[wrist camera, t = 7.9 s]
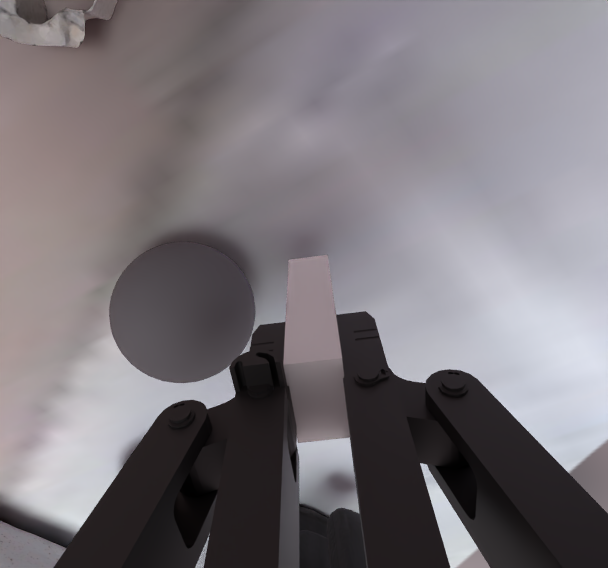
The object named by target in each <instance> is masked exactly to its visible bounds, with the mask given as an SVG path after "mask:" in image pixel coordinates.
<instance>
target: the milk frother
mask: <svg viewBox="0 0 608 568" xmlns="http://www.w3.org/2000/svg"><path fill="white" fill-rule="evenodd" d="M299 568H367V565H366V558H365V550H364V542H363V534H362V527H361V519H360V514H359V513H356V512H354V511H352V510H349V509H345V508H338V509H336V510H335V511H334V512H332V513H331V515H330V517H329V518H327V517H325V516H323V515H321V514H319V513H318V512H316V511H313V510H310V509H307V508H304V507H300V506H299Z"/></svg>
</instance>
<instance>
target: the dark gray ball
mask: <svg viewBox="0 0 608 568" xmlns="http://www.w3.org/2000/svg"><path fill="white" fill-rule="evenodd" d="M109 317H110V326H111V330H112V334H113V337H114V339H115V341H116V344H117V346H118V348H119V349H120V351H121V352H122V354H123V355H124V356H125V357H126V359H127V360H128V361H129V362H130V363H131V364H132V365H133V366H135V367H136V368H137V369H139V370H140V371H142V372H143V373H145V374H147V375H149V376H151V377H153V378H156V379H159V380H162V381H167V382H173V383H188V382H196V381H200V380H204V379H206V378H209V377H211V376H214V375H216V374H218V373H220V372H221V371H223V370H224V369H226V368H227V367H228V366H229V365H230V364H232V362H233V361H234V360H235V359H236V358H237V357H238V356H239V355H240V354H241V353H242V351H243V350H244V348H245V347H246V345H247V343H248V341H249V338H250V336H251V333H252V330H253V326H254V321H255V303H254V296H253V292H252V289H251V287H250V284H249V282H248V280H247V278H246V276H245V275H244V273H243V272H242V271H241V269H240V268H239V267H238V266H237V264H236V263H235V262H234V261H232V260H231V259H230V258H229V257H228V256H226V255H225V254H223V253H222V252H220V251H218V250H216V249H214V248H212V247H210V246H206V245H203V244H199V243H193V242H173V243H167V244H164V245H160V246H157V247H155V248H152V249H150V250H148V251H146V252H145V253H143V254H141V255H140V256H139V257H137V258H136V259H135V260H134V261H133V262H132V263H131V264H130V265H129V266H128V267H127V268H126V269H125V270H124V272H123V273H122V274H121V276H120V278H119V279H118V281H117V283H116V285H115V288H114V290H113V293H112V296H111V301H110V308H109Z"/></svg>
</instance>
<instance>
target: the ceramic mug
mask: <svg viewBox="0 0 608 568" xmlns="http://www.w3.org/2000/svg"><path fill="white" fill-rule="evenodd" d="M66 549H67V548H65V547H63V546H60V545H58V544H55V543H53V542H51V541H48V540H46V539H44V538H41V537H39V536H37V535H34V534H32V533H29V532H26V531H23V530H21V529H18V528H15V527H13V526H11V525H9V524H7V523H4V522H2V521H0V568H53V567H54V566H55V564H56V563H57V562H58V560H59V559H60V557H61V556H62V554H63V553H64V551H65V550H66Z"/></svg>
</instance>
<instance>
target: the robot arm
mask: <svg viewBox="0 0 608 568" xmlns="http://www.w3.org/2000/svg"><path fill="white" fill-rule="evenodd" d="M229 369H230V372H231V376H232V380H233V384H234V388H235V392H236V394H235V397H234V398H233V399H231V400H230V401H228V402H226V403H223V404H221V405H219V406H216V407H213V408H210V409H206V406H205V405H204V404H203V403H201V402H199V401H195V400H186V401H181V402H178V403H175V404H173V405H171V406H169V407H168V408H166V409H165V410H164V411H163V412H162V413H161V414H160V415H159V416H158V417H157V419H156V420H155V422H154V423H153V424H152V426H151V427H150V429H149V430H148V432H147V433H146V435H145V436H144V437H143V439H142V440H141V442H140V443H139V445H138V446H137V448H136V449H135V450H134V452H133V453H132V455H131V456H130V458H129V459H128V461H127V462H126V463H125V465H124V466H123V468H122V469H121V471H120V472H119V474H118V475H117V476H116V478H115V479H114V481H113V482H112V484H111V485H110V487H109V488H108V489H107V491H106V492H105V494H104V495H103V497H102V498H101V499H100V501H99V502H98V504H97V505H96V507H95V508H94V510H93V511H92V512H91V514H90V515H89V517H88V518H87V520H86V521H85V523H84V524H83V525H82V527H81V528H80V530H79V531H78V533H77V534H76V536H75V537H74V538H73V540H72V541H71V543H70V544H69V546H68V547H67V549H66V550H65V551H64V553H63V554H62V556H61V557H60V559H59V560H58V562H57V563H56V564H55V566H54V567H53V568H195V566H196V564H197V562H198V559H199V557H200V555H201V552H202V550H203V548H204V545H205V543H206V540H207V538H208V536H209V533H210V536H209V542H208V547H207V553H206V558H205V564H204V568H299V455H298V450H297V445H296V438H297V439H298V443H301V442H311V441H320V440H329V439H339V438H348V437H350V441H351V449H352V457H353V466H354V472H355V480H356V488H357V496H358V503H359V511H360V519H361V527H362V534H363V542H364V550H365V558H366V565H367V568H450V565H449V562H448V558H447V555H446V551H445V548H444V544H443V541H442V538H441V534H440V531H439V527H438V524H437V520H436V517H435V514H434V510H433V507H432V503H431V500H430V496H429V493H428V490H427V486H426V483H425V479H424V476H423V472H422V469H421V466H420V463H423V464H427V465H428V468H429V470H430V472H431V474H432V475H433V477H434V478H435V480H436V482H437V483H438V485H439V486H440V488H441V489H442V491H443V493H444V494H445V496H446V497H447V499H448V501H449V502H450V504H451V505H452V507H453V509H454V510H455V512H456V513H457V515H458V517H459V518H460V520H461V521H462V523H463V525H464V526H465V528H466V529H467V531H468V532H469V534H470V536H471V537H472V539H473V540H474V542H475V544H476V545H477V547H478V548H479V550H480V552H481V553H482V555H483V556H484V558H485V560H486V561H487V562H488V564H489V566H490V568H608V513H607V512H606V511H605V510H604V509H603V508H602V507H601V506H600V505H599V504H598V503H597V502H596V501H595V500H594V499H593V498H592V497H591V496H590V495H589V494H588V493H587V492H586V491H585V490H584V489H583V488H582V487H581V486H580V485H579V484H578V483H577V481H575V479H574V478H573V477H572V476H570V474H569V473H568V472H567V471H566V470H565V469H564V468H563V467H562V466H561V465H560V464H559V463H558V462H557V461H556V460H555V459H554V458H553V457H552V456H551V455H550V454H549V453H548V452H547V451H546V450H545V448H544V447H543V446H542V445H541V444H540V443H539V442H538V441H537V440H536V439H535V438H534V437H533V436H532V435H531V434H530V433H529V432H528V431H527V430H526V429H525V428H524V427H523V426H522V425H521V424H520V423H519V422H518V421H517V420H516V419H515V418H514V417H513V416H512V414H511V413H510V412H509V411H508V410H507V409H506V408H505V407H504V406H503V405H502V404H501V403H500V402H499V401H498V400H497V399H496V398H495V397H494V396H493V395H492V394H491V393H490V392H489V391H488V390H487V389H486V388H485V387H484V386H483V385H482V384H481V383H480V381H479V380H478V379H476V378H475V377H473V376H472V375H471V374H468V373H466V372H463V371H460V370H450V369H449V370H442V371H438V372H436V373H434V374H432V375H431V376H430V377H429V378H428V379H427V380H426V383H419V382H412V381H407V380H404V379H402V378H399V377H398V376H396V375H394V374H393V372H392V371H391V369H390V368H389V367H388V365H387V361H386V358H385V354H384V351H383V347H382V344H381V340H380V338H379V333H378V330H377V326H376V323H375V319H374V318H373V317H372V316H371V315H369V314H368V313H367V312H366V311H365V312H356V313H348V314H340V315H336V311H335V304H334V297H333V290H332V283H331V276H330V269H329V262H328V255H322V256H314V257H306V258H298V259H290V260H289V262H288V282H287V302H286V321H285V322H282V323H274V324H266V325H260V326H259V327H258V328H257V329H256V331H255V332H254V333H253V334H252V340H251V346H250V351H249V352H246V353H244V354H242V355H240V356H238V357H237V358H236V359H235V360H234V361H233V362H232V364H231V365H230V367H229Z"/></svg>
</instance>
